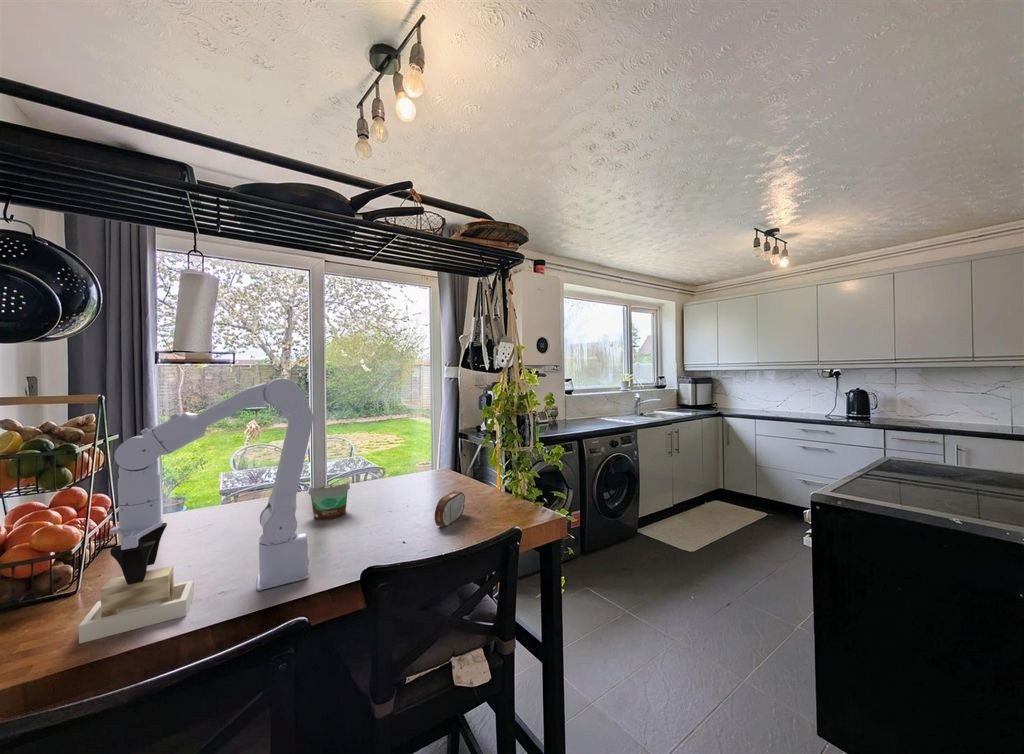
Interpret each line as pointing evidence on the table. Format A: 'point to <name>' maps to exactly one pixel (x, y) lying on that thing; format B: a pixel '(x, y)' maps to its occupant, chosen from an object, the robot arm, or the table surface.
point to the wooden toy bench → (137, 591)
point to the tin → (449, 508)
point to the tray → (136, 615)
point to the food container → (329, 501)
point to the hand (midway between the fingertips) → (141, 573)
